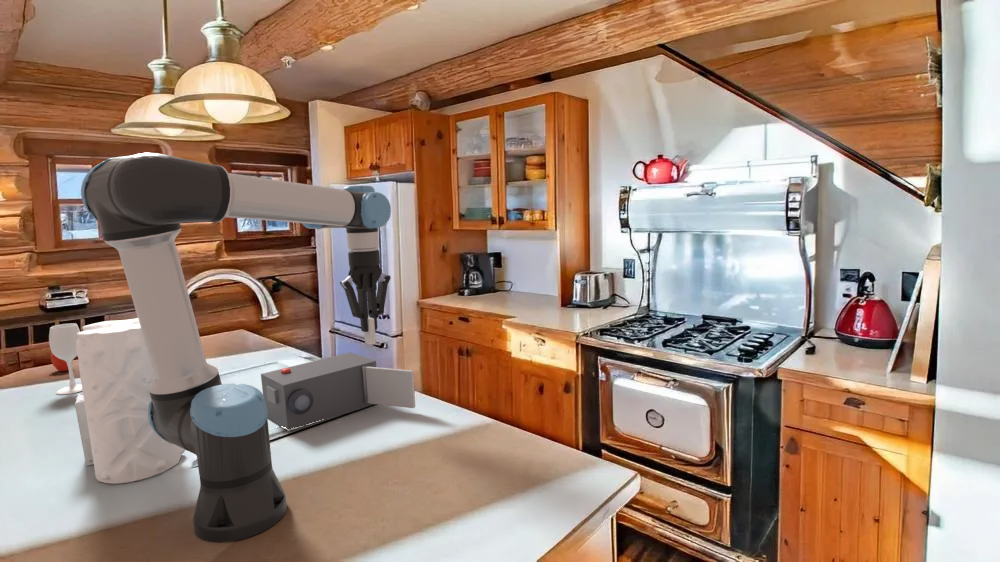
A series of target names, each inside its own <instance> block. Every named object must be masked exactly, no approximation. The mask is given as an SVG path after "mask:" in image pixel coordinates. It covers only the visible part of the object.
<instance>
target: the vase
mask: <svg viewBox="0 0 1000 562" xmlns="http://www.w3.org/2000/svg"><path fill="white" fill-rule="evenodd" d="M77 336H78V340H77V342H76V344H77V346H76V352H77V356H76V357H77V358H78V370H79V376H80V382H81V383H80V384H82V390H83V391H82V394H83V397H84V403H85V410H86V417H87V423H88V430H89V436H90V443H91V449H92V456H93V462H94V464H93V467H94V474H95V479H96V480H97V481H98V482H101V483H106V484H111V485H112V484H115V485H116V484H125V483H131V482H135V481H136V482H137V481H141V480H145V479H148V478H152V477H154V476H157V475H159V474H161V473H163V472H165V471H167V470H169V469H171V468H173V467H174V466H176V465H177V464H178V463H180V461H181V460H180V458H181V459H182V457H181V456H182V455H183V454H184V453H185V451H186V450H185V449H183V448H181V447H179V446H177V445H175V444H172V443H169V442H167V441H165V440H164V439H162V438H161V437H160V436H159V435H158V434H157V433H156V432H155V431H154V430H153V428H152V427H151V425H150V423H149V419H148V407H149V403H150V402H151V396H150V393H149V386H150V384H151V383H152V382H153V380H154V379H155V374H154V371H153V368H152V364H151V361H150V357H149V354H148V350H147V347H146V344H145V340H144V337H143V333H142V330H141V327H140V323H139V320H138V317H136V318H130V319H121V320H118V319H117V320H106V321H105V320H104V321H100V322H99V321H98V322H94V323H91V324H87V325H83V326H82V331H80V332H78V333H77ZM179 460H180V461H179Z"/></svg>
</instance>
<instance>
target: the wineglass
mask: <svg viewBox="0 0 1000 562" xmlns="http://www.w3.org/2000/svg"><path fill="white" fill-rule="evenodd" d="M80 330H81V329H80V328H79V325H78V324H77V323H76V322H75V323H74V322H73V323H72V322H71V323H62V324H57V325H52V326H51V327H49V334H48V343H49V348H50V349H49V350H50V351H51V354H52V353H53V355H54V356H56V357H57V358H59V359H62V360H65V361H66V362H67V365H68V369H69V370H68V375H69V385H68V386H65V387H62V388H60V389H59V390H57V391H56V394H57V395H60V396H61V395H72V394H76V393H80V392H83V390H82V384H81V383H79V384H78V383H76V380H75V377H74V372H73V361H72V360H74V359H75V358H76V357H78V356H77V352H76V346H77V344H76V342H77V340H78V336H77V333H78V332H81V331H80Z"/></svg>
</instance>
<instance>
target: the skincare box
mask: <svg viewBox="0 0 1000 562" xmlns="http://www.w3.org/2000/svg"><path fill="white" fill-rule="evenodd" d="M75 400H76V401H75V403H74V406H75V407H74V408H75V413H76V417H77V424H78V429H79V435H80V440H81V445H82V451H83V456H84V460H85V461H84V462H85V466H92V465H94V462H93V456H92V449H91V443H90V436H89V430H88V423H87V417H86V410H85V403H84V397H83V393H78V394H77V397H76V398H75Z"/></svg>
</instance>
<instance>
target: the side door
mask: <svg viewBox="0 0 1000 562" xmlns="http://www.w3.org/2000/svg"><path fill="white" fill-rule="evenodd" d="M362 371H363V384H364V397H365V403H371V404H373V405H380V406H390V407H398V408H407V409H415V408H416V396H415V380H414V379H415V378H414V370H413V369H398V368H388V367H377V366H376V367H366V366H363V367H362Z"/></svg>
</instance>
